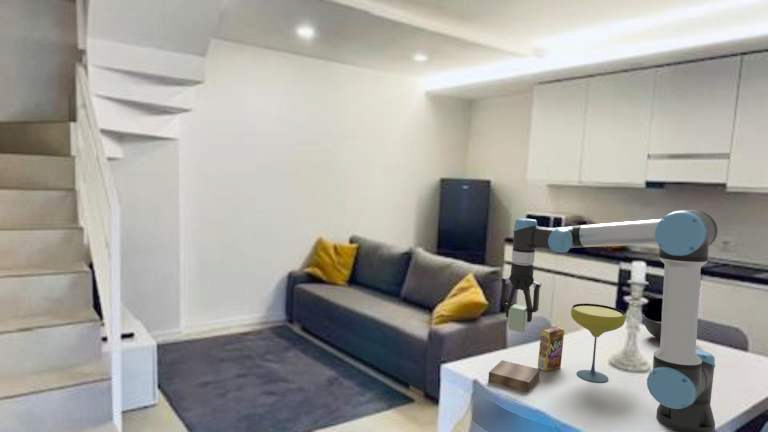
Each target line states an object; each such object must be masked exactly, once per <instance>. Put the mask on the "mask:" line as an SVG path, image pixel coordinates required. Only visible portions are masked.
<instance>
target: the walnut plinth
mask: <svg viewBox="0 0 768 432" xmlns="http://www.w3.org/2000/svg"><path fill="white" fill-rule="evenodd" d="M540 371H541V369H539V368H538V367H533V366H528V365H523V364H519V363H515V362H512V361H508V360H500V361H499V362H498V363H497V364H496V365H495V366H494V367H493V368H492V369H490V371H488V383H490V384H491V383H492V384H495V385H498V386H502V387H506V388H509V389H513V390H518V391H521V392H524V393H530V391H531V390H532V388H533V387H534V386H535V385H536V384H537V382H538V381H539V380H540V373H541V372H540Z"/></svg>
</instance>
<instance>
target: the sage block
mask: <svg viewBox="0 0 768 432" xmlns="http://www.w3.org/2000/svg"><path fill="white" fill-rule="evenodd" d="M525 312H527V307H526V305H521V304H516V303H513V304H512V306H511V307H510V316H509V328H508V330H509V331H514V332H518V333H525V331H524V321H525Z"/></svg>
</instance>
